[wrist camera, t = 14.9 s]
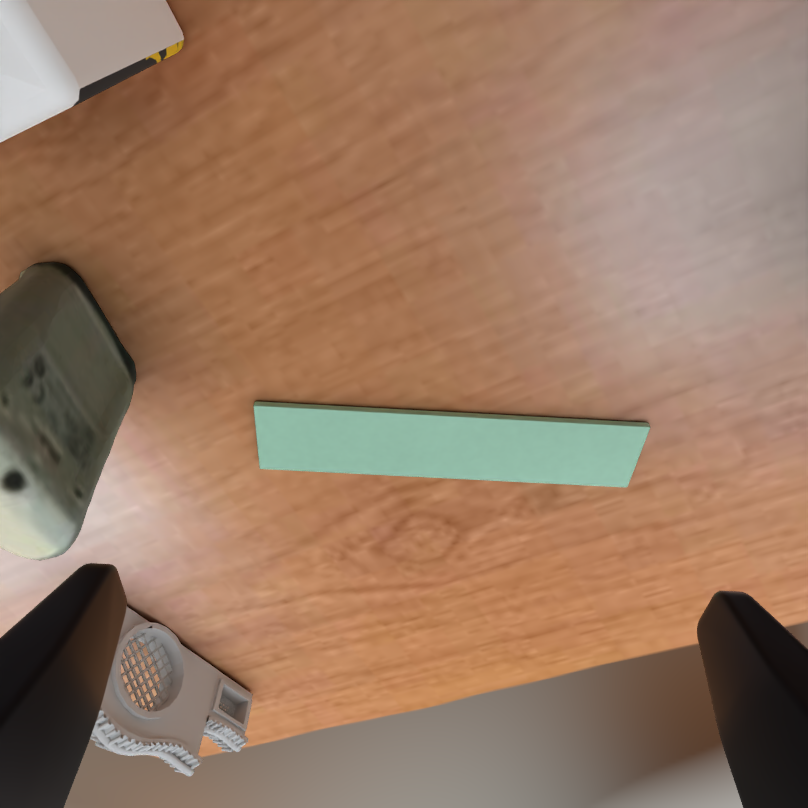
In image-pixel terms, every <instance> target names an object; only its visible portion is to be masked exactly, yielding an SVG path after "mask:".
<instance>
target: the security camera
mask: <svg viewBox="0 0 808 808" xmlns="http://www.w3.org/2000/svg"><path fill="white" fill-rule="evenodd" d="M183 42H184V36H183V33H182V30H181V28H180V26H179V24H178V22H177V20H176V19H175V17H174V15H173V13H172V11H171V9H170V7H169V5H168V3H167V2H166V0H0V142H2V141H4V140H6V139H8V138H10V137H12V136H15V135H17V134H19V133H21V132H23V131H25V130H27V129H29V128H31V127H33V126H35V125H37V124H39V123H41V122H43V121H45V120H47V119H49V118H51V117H53V116H55V115H57V114H59V113H61V112H63V111H65V110H67V109H69V108H71V107H73V106H75V105H77V104H79V103H81V102H83V101H85V100H86V99H88V98H90V97H92V96H94V95H96V94H98V93H100V92H102V91H104V90H106V89H108V88H110V87H112V86H114V85H116V84H118V83H119V82H121V81H123V80H125V79H127V78H129V77H131V76H133V75H135V74H137V73H139V72H141V71H143V70H145V69H147V68H149V67H150V66H152V65H154V64H156V63H158V62H160V61H162V60H164V59H166V58H168V57H170V56H172V55H174V54H176V53H178V52H179V51H180V50H181V49H182V48H183Z"/></svg>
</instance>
